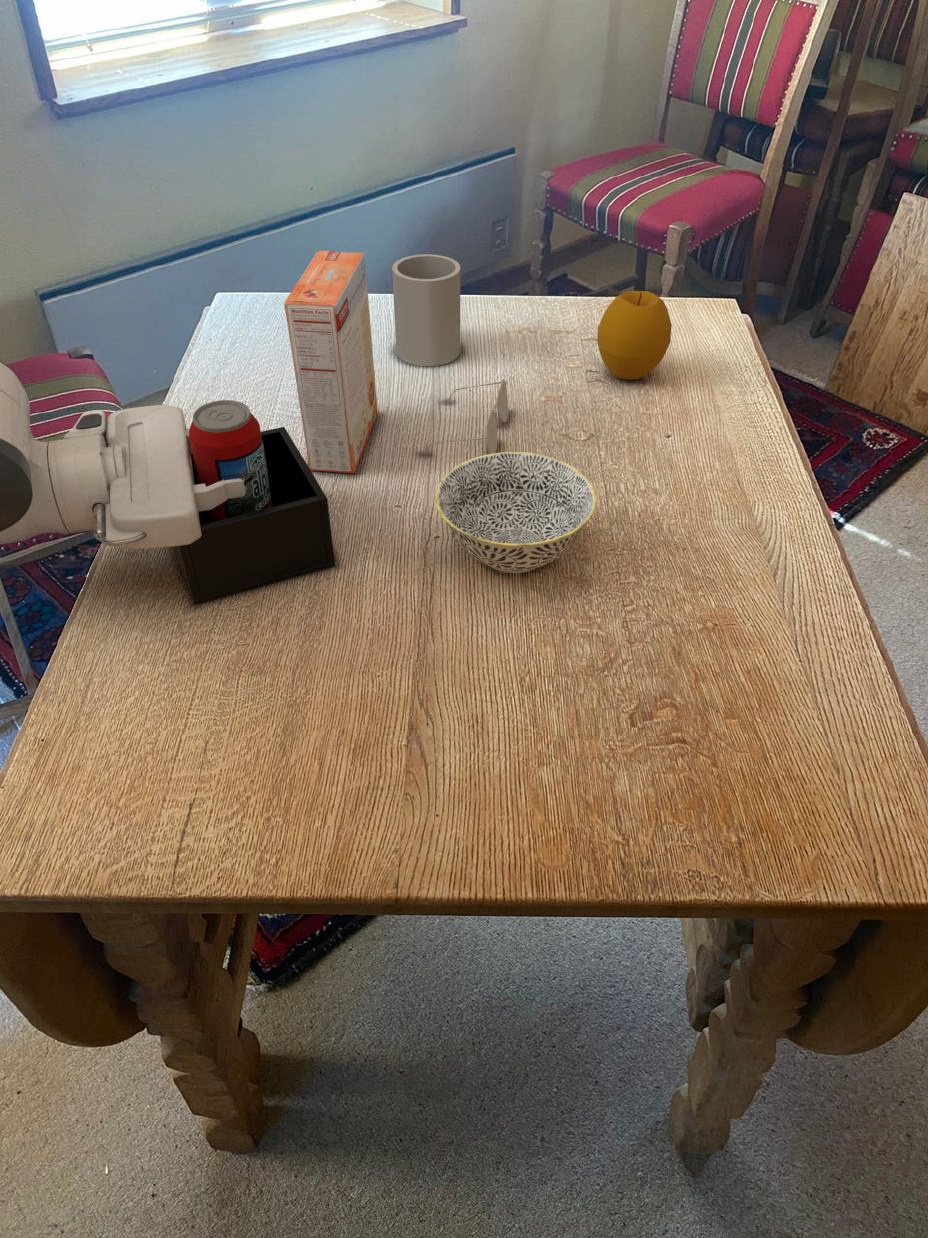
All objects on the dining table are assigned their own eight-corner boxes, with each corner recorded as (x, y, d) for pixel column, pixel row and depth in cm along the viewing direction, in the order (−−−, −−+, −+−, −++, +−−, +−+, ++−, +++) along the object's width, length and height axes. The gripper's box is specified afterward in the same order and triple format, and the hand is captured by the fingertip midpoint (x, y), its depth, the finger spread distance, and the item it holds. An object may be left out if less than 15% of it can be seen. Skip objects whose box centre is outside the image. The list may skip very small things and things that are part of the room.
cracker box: (333, 411, 117) (316, 247, 102) (379, 415, 116) (368, 250, 102) (304, 472, 107) (280, 298, 92) (354, 476, 106) (338, 302, 92)
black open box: (194, 605, 89) (176, 536, 83) (165, 524, 99) (146, 456, 93) (335, 566, 94) (327, 497, 88) (294, 492, 103) (284, 426, 98)
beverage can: (253, 542, 91) (234, 438, 83) (195, 527, 92) (170, 424, 84) (285, 505, 95) (270, 403, 87) (229, 492, 97) (209, 391, 89)
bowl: (477, 621, 88) (478, 561, 83) (413, 531, 98) (411, 472, 93) (617, 576, 93) (626, 517, 88) (542, 495, 103) (547, 437, 98)
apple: (619, 400, 119) (631, 314, 111) (577, 369, 125) (586, 286, 117) (678, 382, 123) (693, 298, 115) (634, 353, 129) (646, 271, 121)
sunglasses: (491, 465, 108) (485, 428, 104) (424, 466, 110) (416, 430, 107) (511, 407, 118) (506, 371, 114) (449, 409, 120) (442, 374, 117)
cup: (459, 366, 126) (459, 281, 118) (394, 365, 126) (390, 280, 118) (460, 337, 132) (460, 254, 124) (398, 336, 133) (394, 253, 124)
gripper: (83, 518, 77) (246, 493, 80) (85, 402, 92) (224, 384, 95) (102, 575, 82) (257, 549, 85) (101, 455, 96) (234, 437, 99)
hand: (239, 461), depth 90 cm, fingers closed on beverage can, 7 cm apart
